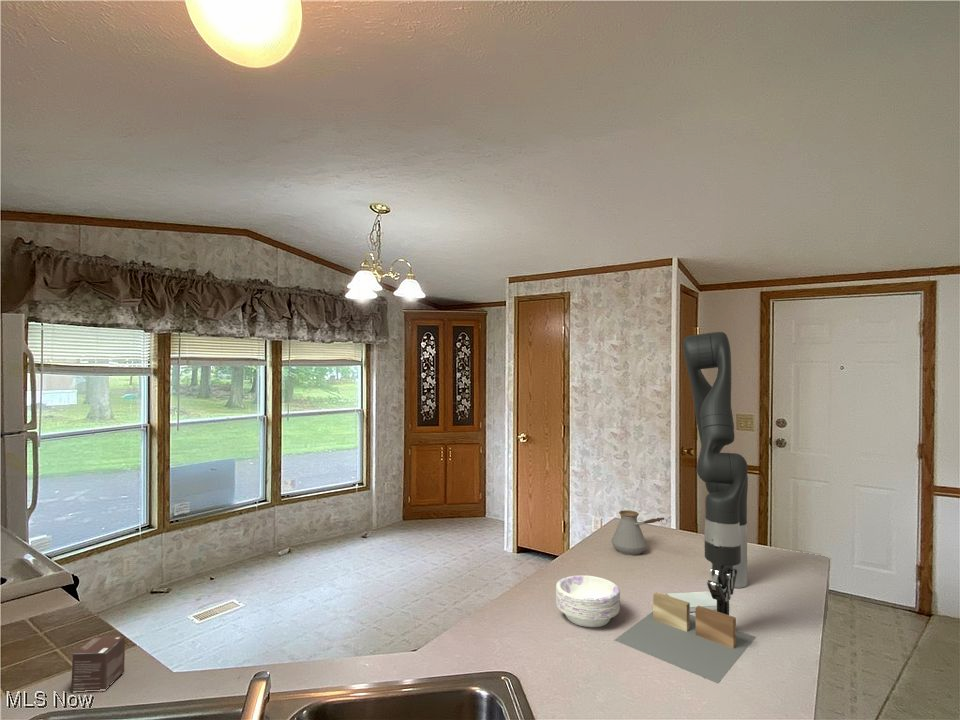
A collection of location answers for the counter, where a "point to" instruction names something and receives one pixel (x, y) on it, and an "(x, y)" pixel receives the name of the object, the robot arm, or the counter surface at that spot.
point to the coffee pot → (630, 533)
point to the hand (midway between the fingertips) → (723, 616)
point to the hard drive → (697, 599)
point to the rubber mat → (685, 647)
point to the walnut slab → (715, 626)
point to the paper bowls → (588, 600)
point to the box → (98, 663)
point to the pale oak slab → (671, 611)
